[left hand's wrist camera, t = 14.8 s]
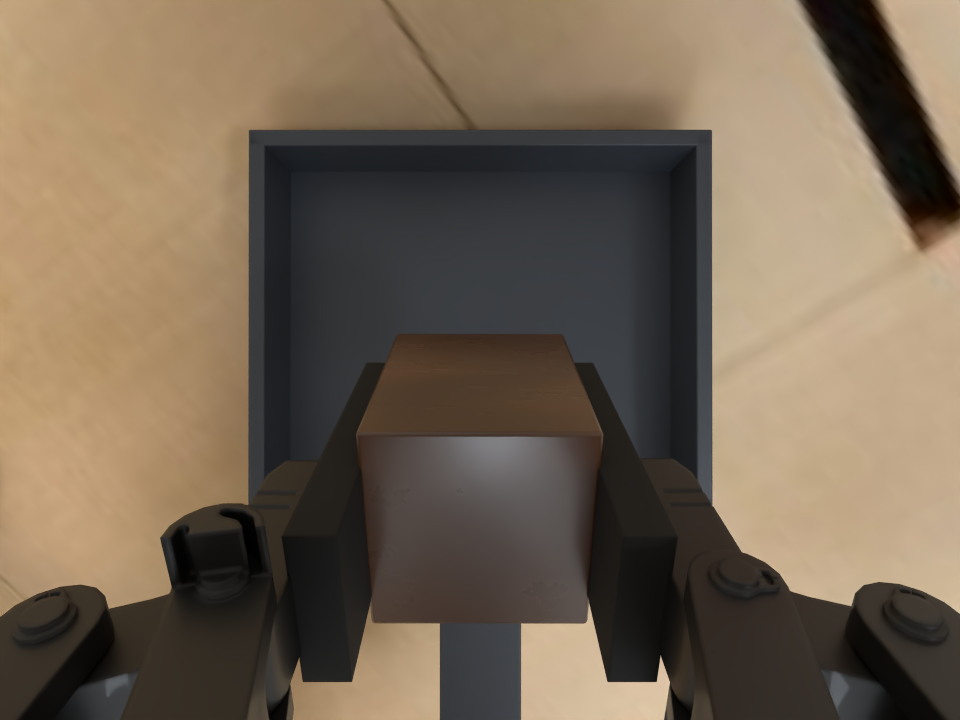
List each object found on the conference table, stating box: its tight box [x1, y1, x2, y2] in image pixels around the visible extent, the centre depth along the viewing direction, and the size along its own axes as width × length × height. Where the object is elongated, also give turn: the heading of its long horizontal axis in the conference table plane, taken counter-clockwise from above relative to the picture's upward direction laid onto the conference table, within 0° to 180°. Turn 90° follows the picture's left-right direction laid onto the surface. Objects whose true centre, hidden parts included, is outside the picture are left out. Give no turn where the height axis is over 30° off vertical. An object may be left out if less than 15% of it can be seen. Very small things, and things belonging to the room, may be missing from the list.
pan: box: [249, 130, 712, 720], centre depth 21 cm, size 17×29×9 cm, turn 0°
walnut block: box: [356, 334, 603, 623], centre depth 12 cm, size 4×4×5 cm
